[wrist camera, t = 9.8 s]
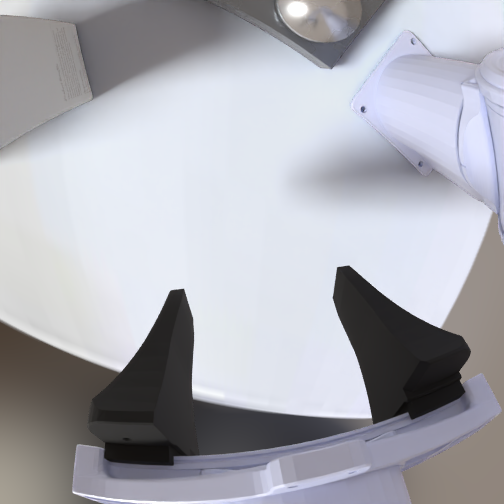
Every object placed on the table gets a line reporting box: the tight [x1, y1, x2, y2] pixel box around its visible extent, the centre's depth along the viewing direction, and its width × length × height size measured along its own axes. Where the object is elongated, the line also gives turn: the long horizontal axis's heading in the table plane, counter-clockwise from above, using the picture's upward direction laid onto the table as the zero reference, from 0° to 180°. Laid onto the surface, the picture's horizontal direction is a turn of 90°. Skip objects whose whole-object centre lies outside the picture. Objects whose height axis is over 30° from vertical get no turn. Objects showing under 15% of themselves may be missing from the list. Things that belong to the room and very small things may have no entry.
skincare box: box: [0, 15, 93, 149], centre depth 9 cm, size 6×4×12 cm
